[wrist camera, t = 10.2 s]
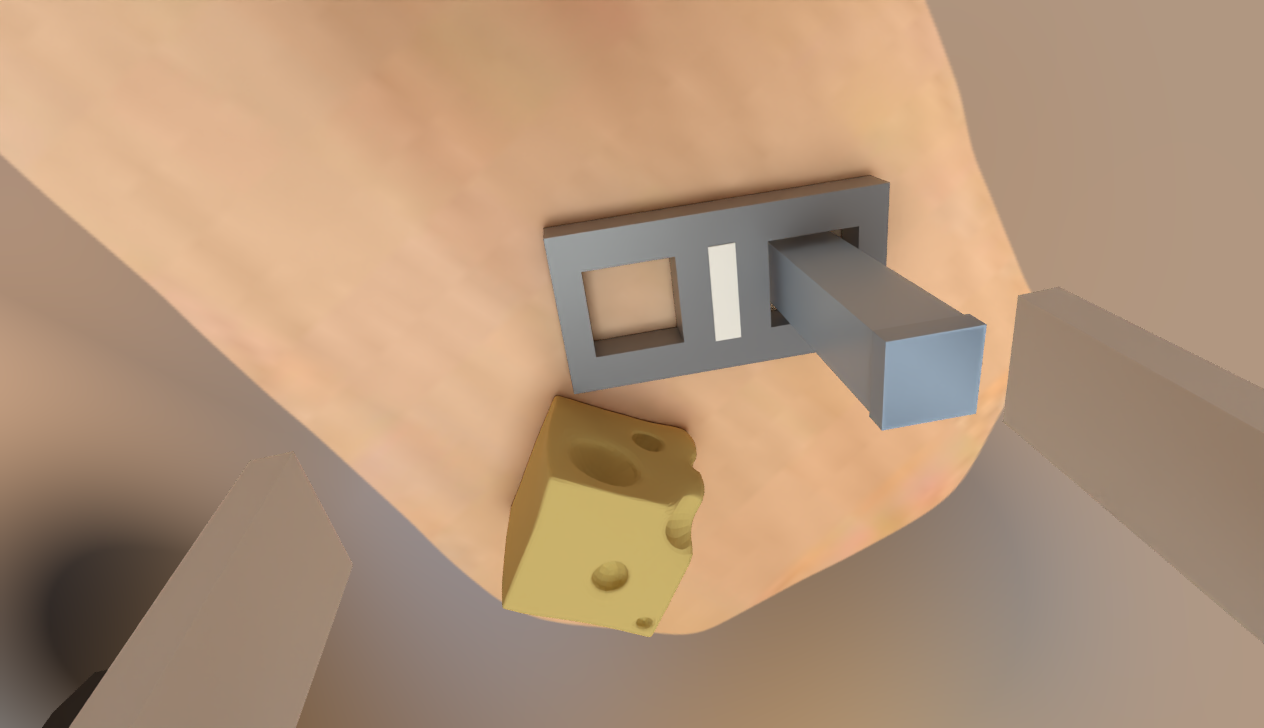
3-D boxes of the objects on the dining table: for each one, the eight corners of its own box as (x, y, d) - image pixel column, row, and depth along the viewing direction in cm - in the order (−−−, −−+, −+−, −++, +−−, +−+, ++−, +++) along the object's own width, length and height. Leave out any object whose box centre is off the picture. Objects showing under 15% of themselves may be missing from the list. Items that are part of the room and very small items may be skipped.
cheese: (689, 426, 46) (724, 517, 37) (633, 542, 49) (652, 649, 40) (548, 385, 43) (548, 472, 34) (501, 511, 47) (490, 619, 38)
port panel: (543, 228, 38) (543, 239, 36) (870, 175, 39) (890, 182, 37) (572, 376, 43) (574, 395, 40) (865, 325, 44) (883, 341, 41)
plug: (765, 239, 40) (885, 342, 26) (831, 229, 40) (986, 324, 26) (768, 302, 42) (881, 430, 28) (830, 291, 42) (976, 413, 28)
